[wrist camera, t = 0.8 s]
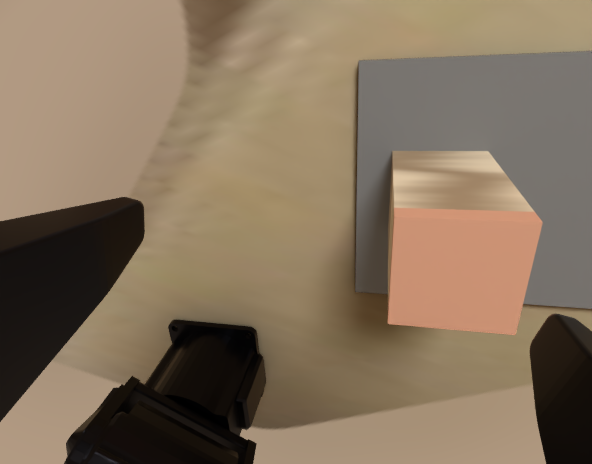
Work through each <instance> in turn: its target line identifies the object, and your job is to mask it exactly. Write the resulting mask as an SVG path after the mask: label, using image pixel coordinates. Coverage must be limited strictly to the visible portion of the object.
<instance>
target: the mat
mask: <svg viewBox="0 0 592 464" xmlns="http://www.w3.org/2000/svg"><path fill="white" fill-rule="evenodd" d="M392 151H489V153H490V154H491V155H492V157H493V158H494V159H495V161H496V162H497V163H498V165H499V166H500V167H501V168H502V170H503V171H504V172H505V174H506V175H507V176H508V178H509V179H510V180H511V181H512V183H513V184H514V185H515V187H516V188H517V189H518V191H519V192H520V193H521V195H522V196H523V197H524V198H525V200H526V201H527V202H528V204H529V205H530V206H531V208H532V209H533V210H534V211H535V213H536V214H537V215H538V217H539V218H540V219H541V221H542V222H543V224H542V228H541V232H540V236H539V240H538V244H537V248H536V253H535V257H534V261H533V265H532V269H531V273H530V277H529V281H528V286H527V290H526V294H525V298H524V302H523V304H531V305H545V306H559V307H573V308H587V309H592V51H577V52H552V53H528V54H503V55H479V56H454V57H429V58H405V59H380V60H359V82H358V148H357V213H356V278H355V292H364V293H378V294H388V224H389V206H390V187H391V169H392Z"/></svg>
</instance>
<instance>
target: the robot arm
mask: <svg viewBox="0 0 592 464" xmlns="http://www.w3.org/2000/svg"><path fill="white" fill-rule="evenodd" d="M144 232H145V230H144V206H143V204H142V203H141V201H138V200H135V199H131V198H127V197H121V198H116V199H111V200H106V201H101V202H96V203H91V204H86V205H80V206H75V207H71V208H66V209H61V210H56V211H50V212H46V213H40V214H36V215H30V216H25V217H20V218H15V219H10V220H5V221H0V422H1V420H2V419H3V418H4V417H5V416H6V414H7V413H8V412H9V411H10V410H11V408H12V407H13V406H14V405H15V403H16V402H17V401H18V400H19V399H20V398H21V397H22V395H23V394H24V393H25V392H26V390H27V389H28V388H29V387H30V386H31V385H32V383H33V382H34V381H35V380H36V378H37V377H38V376H39V375H40V374H41V373H42V371H43V370H44V369H45V368H46V367H47V365H48V364H49V363H50V362H51V361H52V359H53V358H54V357H55V356H56V355H57V354H58V352H59V351H60V350H61V349H62V348H63V346H64V345H65V344H66V343H67V342H68V340H69V339H70V338H71V337H72V336H73V334H74V333H75V332H76V331H77V330H78V328H79V327H80V326H81V325H82V324H83V322H84V321H85V320H86V319H87V318H88V316H89V315H90V314H91V313H92V312H93V311H94V309H95V308H96V307H97V306H98V305H99V303H100V302H101V301H102V300H103V298H104V297H105V296H106V295H107V293H108V292H109V291H110V289H111V288H112V287H113V285H114V284H115V282H116V281H117V279H118V278H119V276H120V275H121V273H122V272H123V270H124V269H125V267H126V266H127V264H128V262H129V261H130V259H131V258H132V256H133V255H134V253H135V252H136V250H137V249H138V247H139V246H140V244H141V243H142V241H143V238H144ZM175 326H176V327H177V328H176V327H175ZM168 328H169V332H170V336H171V341H172V345H171V346H170V348H169V349H168V351H167V352H166V354H165V355H164V357H163V358H162V360H161V361H160V363H159V364H158V366H157V367H156V369H155V370H154V372H153V373H152V374H151V376H150V377H149V379H148V380H147V382H146V383H145V385H144V384H143V383H141V382H139V381H140V380H139V379H137V378H135V377H133V376H132V377H131V378H130V379H129V380H128V382H127V383H126V384H125V385H121V386H120V387H119V388H113V389H112V391H111V392H110V393H109V395H108V396H107V397H106V399H105V400H104V401H103V403H102V404H101V405H100V407H99V408H98V409H97V410H96V411H95V412H94V413H93V414H92V415H91V416H90V417H89V418H88V419H87V420H86V421H85V422H84V423H83V424H82V425H81V426H80V427H79V428H78V429H77V430H76V431H75V432H74V433H73V434H72V435H71V436H70V438H69V439H68V441H67V443H66V448H67V455H68V457H67V459H66V461H65V463H64V464H253V460H254V455H255V449H256V443H255V442H253V441H251V440H246V439H244V438H242V437H240V433H241V430H242V429H246V430H247V429H248V428H250V427H251V424H252V422H253V419H254V416H255V413H256V410H257V407H258V404H259V401H260V398H261V397H262V395H263V392H264V386H265V383H266V377H265V368H264V360H263V356H262V355H261V354H259V346H258V338H257V332H256V330H255V329H254V328H252V327H248V326H238V325H227V324H216V323H206V322H195V321H184V320H173V321H172V322H171V323H170V324H169V326H168ZM247 333H249V334H251V335H249V334H247ZM530 360H531V370H532V380H533V390H534V399H535V409H536V416H537V422H538V428H539V433H540V437H541V442H542V446H543V451H544V455H545V460H546V464H592V331H590V330H589V329H588V328H587V327H585V326H584V325H583V324H582V323H580V322H579V321H578V320H576V319H574V318H572V317H568V316H564V315H560V314H552V315H550V316H549V317H548V318H547V319H546V321H545V322H544V324H543V325H542V327H541V328H540V330H539V331H538V333H537V334H536V336H535V337H534V339H533V340H532V343H531V346H530Z"/></svg>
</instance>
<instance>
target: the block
mask: <svg viewBox="0 0 592 464" xmlns="http://www.w3.org/2000/svg"><path fill="white" fill-rule="evenodd" d="M542 224H543V222H542V221H541V219H540V218H539V217H538V215H537V214H536V213H535V211H534V210H533V209H532V208H531V206H530V205H529V204H528V202H527V201H526V200H525V198H524V197H523V196H522V195H521V193H520V192H519V191H518V189H517V188H516V187H515V185H514V184H513V183H512V181H511V180H510V179H509V178H508V176H507V175H506V174H505V172H504V171H503V170H502V168H501V167H500V166H499V165H498V163H497V162H496V161H495V159H494V158H493V157H492V155H491V154H490V153H489V151H392V169H391V187H390V206H389V224H388V324H394V325H405V326H417V327H429V328H440V329H452V330H464V331H475V332H487V333H498V334H510V335H516V331H517V327H518V323H519V319H520V315H521V310H522V306H523V302H524V298H525V294H526V290H527V286H528V281H529V277H530V273H531V269H532V265H533V261H534V257H535V253H536V248H537V244H538V240H539V236H540V232H541V228H542Z"/></svg>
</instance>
